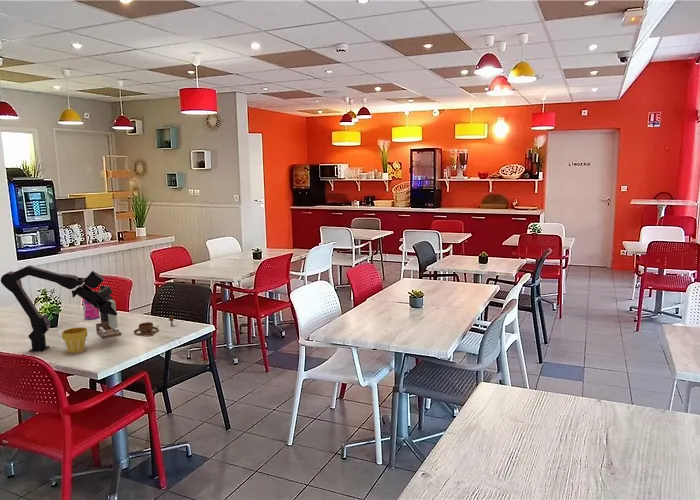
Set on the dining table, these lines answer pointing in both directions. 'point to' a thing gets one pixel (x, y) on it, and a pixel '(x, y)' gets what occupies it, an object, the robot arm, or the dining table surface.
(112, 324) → the pale green rectangular box
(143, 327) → the place setting
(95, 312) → the supplement box
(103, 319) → the bottle
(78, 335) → the plant pot
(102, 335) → the cabinet base
